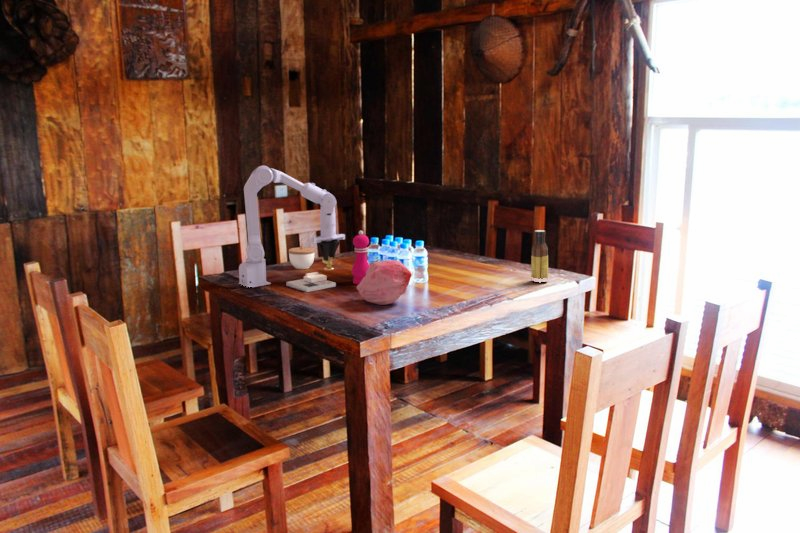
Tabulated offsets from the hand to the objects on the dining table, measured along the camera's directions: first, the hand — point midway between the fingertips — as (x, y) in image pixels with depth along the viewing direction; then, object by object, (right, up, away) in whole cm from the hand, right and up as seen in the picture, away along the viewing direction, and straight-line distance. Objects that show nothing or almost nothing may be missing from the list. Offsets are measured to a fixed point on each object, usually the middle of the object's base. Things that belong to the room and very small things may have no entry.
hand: (328, 260), depth 261 cm
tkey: (0, -4, +1) cm, 4 cm away
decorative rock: (+22, -15, -31) cm, 40 cm away
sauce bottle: (+80, -9, +1) cm, 81 cm away
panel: (-6, -10, -7) cm, 14 cm away
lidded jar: (-14, -3, +25) cm, 29 cm away
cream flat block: (-5, -8, -5) cm, 10 cm away
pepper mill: (+13, -9, -2) cm, 15 cm away
